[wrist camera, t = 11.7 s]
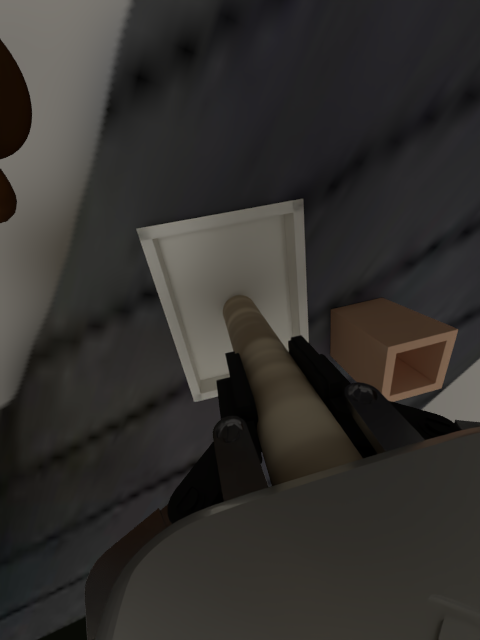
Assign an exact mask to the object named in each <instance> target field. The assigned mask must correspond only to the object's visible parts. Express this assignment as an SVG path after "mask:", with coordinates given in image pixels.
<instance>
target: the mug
mask: <svg viewBox="0 0 480 640" xmlns="http://www.w3.org/2000/svg"><path fill="white" fill-rule="evenodd" d="M31 122H32V108H31V101H30V95H29V91H28V88H27V85H26V82H25V80H24V77H23V75H22V73H21V71H20V69H19V67H18V65H17V63H16V61H15V60H14V58H13V57H12V55H11V53H10V52H9V50H8V49H7V47H6V46H5V45H4V43H3V42H2V41H1V39H0V159H3V158H6V157H8V156H10V155H12V154H14V153H15V152H16V151H18V150H19V149H20V148H21V146H22V145H23V144H24V142H25V141H26V139H27V137H28V134H29V132H30V128H31ZM16 204H17V200H16V195H15V193H14V190H13V188H12V186H11V184H10V182H9V181H8V179H7V177H6V176H5V174H4V173H3V171H2V170H1V169H0V223H2V222H6V221H8V219H10V218H11V217H12V216H13V215H14V213H15V210H16Z"/></svg>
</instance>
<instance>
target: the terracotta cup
mask: <svg viewBox="0 0 480 640" xmlns="http://www.w3.org/2000/svg"><path fill="white" fill-rule="evenodd" d="M457 332H458V329H456V328H454V327H451V326H449V325H447V324H444V323H442V322H439V321H437V320H435V319H432V318H430V317H427V316H425V315H423V314H420V313H418V312H415V311H413V310H411V309H408V308H406V307H403V306H401V305H399V304H396V303H394V302H391V301H389V300H387V299H384V298H378V299H374V300H369V301H365V302H361V303H356V304H352V305H348V306H344V307H339V308H335V309H331V347H330V356H331V357H332V358H333V359H334V360H335V361H336V362H337V363H338V364H339V365H340V366H341V367H342V368H343V369H344V370H345V371H346V372H347V373H348V374H349V375H350V376H351V377H352V378H353V379H354V380H355V381H356V382H361V383H366V384H369V385H372V386H373V387H375V388H376V389H378V390H379V391H380V392H381V393H382V394H383V396H384V397H385V398H386V399H387V400H388V401H391V402H394V401H397V400H401V399H405V398H408V397H412V396H415V395H419V394H422V393H426V392H429V391H433V390H437V389H440V388H442V385H443V381H444V378H445V374H446V371H447V367H448V364H449V360H450V357H451V353H452V350H453V346H454V343H455V339H456V336H457Z"/></svg>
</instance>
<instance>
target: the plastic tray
mask: <svg viewBox="0 0 480 640" xmlns="http://www.w3.org/2000/svg"><path fill="white" fill-rule="evenodd" d="M136 230H137V233H138V236H139V239H140V242H141V244H142V247H143V250H144V253H145V256H146V259H147V262H148V265H149V268H150V271H151V274H152V277H153V280H154V283H155V286H156V289H157V292H158V295H159V298H160V301H161V304H162V307H163V310H164V313H165V316H166V319H167V322H168V325H169V328H170V331H171V334H172V337H173V340H174V343H175V345H176V348H177V351H178V354H179V357H180V360H181V363H182V366H183V369H184V372H185V375H186V378H187V381H188V384H189V387H190V390H191V393H192V396H193V399H194V402H197V401H201V400H205V399H209V398H213V397H217V396H218V391H217V383H216V380H220V379H224V378H228V377H230V374H229V370H228V365H227V360H226V356H225V353H228V352H233V348H232V344H231V341H230V338H229V334H228V331H227V327H226V324H225V320H224V317H223V307H224V304H225V303H226V302H227V300H228V299H230V298H231V297H233V296H236V295H244V296H247V297H249V298H250V299H251V300H252V301H253V302H254V304H255V305H256V306H257V308H258V309H259V311H260V312H261V314H262V315H263V316H264V318H265V319H266V321H267V322H268V324H269V325H270V326H271V328H272V329H273V331H274V332H275V333H276V335H277V336H278V338H279V339H280V341H281V342H282V343H283V345H284V346H285V348H286V349H287V351H288V352H289V349H288V341H289V340H291V337H295V336H299V335H302V336H303V337H304V338H305V340H306V341H307V342H308V343H309V336H308V310H307V284H306V258H305V232H304V206H303V199H298V200H293V201H287V202H282V203H276V204H271V205H265V206H260V207H254V208H249V209H243V210H238V211H232V212H227V213H221V214H216V215H210V216H205V217H199V218H193V219H188V220H182V221H177V222H171V223H166V224H160V225H155V226H149V227H144V228H138V229H136Z"/></svg>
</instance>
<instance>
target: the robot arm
mask: <svg viewBox="0 0 480 640" xmlns="http://www.w3.org/2000/svg"><path fill="white" fill-rule="evenodd" d="M288 349H289V354H290V355H291V356H292V358H293V359H294V361H295V362H296V364H297V365H298V366H299V368H300V369H301V371H302V372H303V374H304V375H305V376H306V378H307V379H308V381H309V382H310V384H311V385H312V386H313V388H314V389H315V391H316V392H317V394H318V395H319V396H320V398H321V399H322V401H323V402H324V403H325V405H326V406H327V408H328V409H329V411H330V412H331V413H332V415H333V416H334V418H335V419H336V421H337V422H338V423H339V425H340V426H341V428H342V429H343V431H344V432H345V433H346V435H347V436H348V438H349V439H350V440H351V442H352V443H353V445H354V446H355V448H356V449H357V450H358V452H359V453H360V455H361V456H362V458H363V459H360V460H357V461H353V462H350V463H347V464H343V465H340V466H337V467H333V468H330V469H327V470H324V471H320V472H317V473H314V474H310V475H307V476H304V477H301V478H297V479H294V480H291V481H288V482H284V483H281V484H278V485H275V486H271V487H269V486H268V483H267V481H266V478H265V475H264V472H263V469H262V466H261V463H262V456H261V452H262V449H261V446H260V442H259V439H258V435H257V423H258V414H257V409H256V404H255V401H254V397H253V394H252V391H251V388H250V385H249V382H248V379H247V376H246V373H245V370H244V367H243V364H242V361H241V357H240V354H239V353H236V354H235V351H233V352H228V353H225V356H226V360H227V365H228V370H229V374H230V377H228V378H224V379H220V380H216V383H217V391H218V399H219V407H220V414H221V420H219V421H218V422H217V423H216V425H215V426H214V429H213V434H212V436H213V443H212V444H211V445H210V446H209V448H208V449H207V450H206V452H205V453H204V454H203V455H202V457H201V458H200V459H199V460H198V462H197V463H196V464H195V465H194V467H193V468H192V469H191V471H190V472H189V473H188V474H187V476H186V477H185V478H184V479H183V481H182V482H181V483H180V485H179V486H178V487H177V488H176V490H175V491H174V493H173V494H172V496H171V498H170V501H169V503H168V505H166V506H165V507H164V508H163V509H162V510H160V509H159V508H158V509H157V510H156V511H154V512H153V513H152V514H151V515H150V516H148V517H147V518H146V519H145V520H144V521H142V522H141V523H140V524H139V525H137V526H136V527H135V528H134V529H133V530H131V531H130V532H129V533H128V534H126V535H125V536H124V537H123V538H122V539H120V540H119V541H118V542H117V543H115V544H114V545H113V546H112V547H111V548H109V549H108V550H107V551H106V552H105V553H104V554H103V555H102V556H101V557H100V558H99V559H98V560H97V561H96V563H95V564H94V566H93V567H92V569H91V570H90V573H89V575H88V578H87V581H86V584H85V609H86V623H87V640H480V422H470V421H459V420H455V423H453V422H452V421H450V420H449V419H447V418H445V417H443V416H440V415H437V414H434V413H430V412H427V411H423V410H420V409H416V408H413V407H409V406H405V405H402V404H398V403H395V402H391V401H388V400H387V399H386V398H385V397H384V396H383V394H382V393H381V392H380V391H379V390H378V389H376V388H375V387H373V386H372V385H369V384H366V383H361V382H356V383H350V382H349V381H348V380H347V379H346V378H345V377H344V376H343V375H342V374H341V373H340V372H339V370H338V369H337V368H336V367H335V366H334V365H333V364H332V363H331V362H330V361H329V360H328V359H327V358H326V357H325V356H324V355H323V354H320V355H319V354H318V353H317V352H316V351H315V349H314V348H313V347H312V346H311V345H310V344H309V343H308V342H307V341H306V340H305V338H304V337H303V336H302V335H299V336H295V337H291V340H289V341H288Z"/></svg>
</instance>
